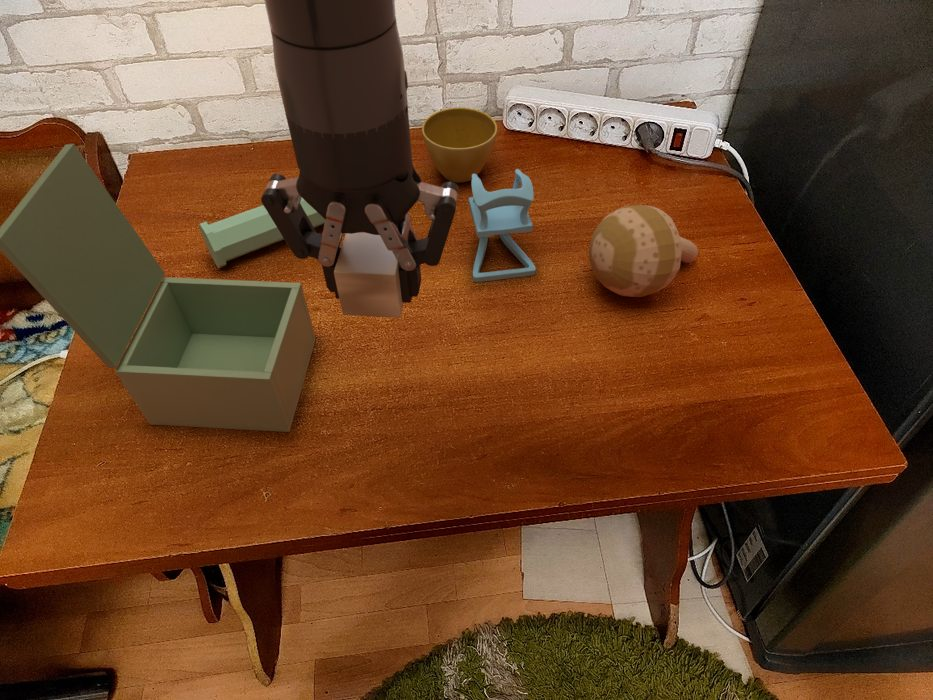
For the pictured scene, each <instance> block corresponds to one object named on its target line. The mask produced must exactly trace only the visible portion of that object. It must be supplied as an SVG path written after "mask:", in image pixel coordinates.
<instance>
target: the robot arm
mask: <svg viewBox="0 0 933 700" xmlns="http://www.w3.org/2000/svg"><path fill="white" fill-rule="evenodd" d="M263 1H264V6H265V11H266V15H267V19H268V24H269V28H270V35H271V39H272V40H271V41H272V50H273V51H272V52H273V61H274V69H275V74H276V79H277V83H278V87H279V88H278V89H279V92H280V96H281V100H282V105H283V110H284V113H285V117H286V122H287V126H288V131H289V135H290V139H291V143H292V144H291V145H292V149H293V152H294V157H295V162H296V165H297V168H298V170H299V173H298V174H299V175H298V176H296V177H291V178H286V176H284V175H282V174H280V173H273V174H272V175H271V176H270V178H269V180H268V183H267V184H266V187H265V189H264V191H263V193H262V196H261V198H260V201H261V205H264V207H265V209H266V210H267V212H268V213H269V215H270V217H271V218H272V220H273V222H274V223H275V225H276V226H277V228H278V230H279V231H280V233H281V235H282V236H283V238H284V241H285V243H286V245H287V246H288V248H289V249H290V250H291V252H292V254H293V256H294V257H295V258H297V259H300V260H306V259H308V258H309V257H310V258H313V259H315V260H316V261H317V262H318V263H319V264H320V265H321V269H322V272H323V276H324V281H325V286H326V288H327V289H328V291H329V292H330V293H334V295H335V299H337V300H340V299H339V295H338V290H337V285H336V281H335V276H334V270H335V266H336V263H337V260H338V257H339V253H340V250H341V246H340V245H341V241H342V238H343V234H346V233H348V234H353V233H369V234H373V235H380V237H381V238H382V240H383V242H384V244H385V246H386V247H387V249H388V250H389V251H392V252H393V254H394V255H395V257H396V259H397V261H398V263H399V265H400V266H399V279H400V288H401V296H402V302H403V304H405V303H406V304H411V303H412V299H413V298H416V297H417V298H418V296H419V294H420V288H421V283H422V273H421V265H423V264H425V265H427V266H429V267H430V266H431V267H435V266H438V265H439V263H440V262H441V258H442V256H443V252H444V249H445V247H446V243H447V240H448V237H449V233H450V230H451V228H452V223H453V220H454V218H455V215H456V210H457V204H458V199H459V198H458V196H459V192H460V191H459V190H460V189H459V186H458V184H457V183H456V182H452V181H445V182H443V183H442V185H441V186H438V185H435V184H431V183H427V182H423V181H422V178H421V175H419V173H418V172H417V170H416V168H415V166H414V163H413V153H412V142H411V140H412V139H411V131H410V119H409V106H408V105H409V103H408V93H407V91H408V89H409V82H408V75H407V71H406V69H405V68H406V67H405V59H404V52H403V46H402V42H401V38H400V33H399V29H398V22H397V15H396V3H395V2H396V1H395V0H263ZM301 197H302V198H303V199H304V200H305V201H306V202H307V203H308V204H309V205H310V206H311V207H312V208H313V209H315V210H316V211H317V212H318V213H319V214H320V215H321V216H322V217H323V218H324V219H325V224H323V229H322V234H321V233H317V230H316V229H315V228H314V227H313V225H312V223H311V222H310V220H309V218H308V216H307V215H306V213H305V211H304V209H303V208H302V206H301V204H300V201H301ZM417 202H420V203H422V205H423V206H424V213H425V215H426V216H427V217H428V220H430V221H431V222H430V226H429V230H428V233H427V237H424V238H418V236H417V234H416V231H415V230H414V228H413V226H412V219H411V216H410V213H409V211H410V210H411V209H412V208H413V207H414V205H415V204H416V203H417Z"/></svg>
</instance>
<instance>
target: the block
mask: <svg viewBox="0 0 933 700" xmlns="http://www.w3.org/2000/svg"><path fill="white" fill-rule="evenodd" d="M340 248H341V250H340V253H339V257H338V260H337V263H336V266H335V270H334V276H335V281H336V285H337V290H338V295H339V299H338V300H339V303H340V308H341V313H342V315H343V316H355V317H357V316H358V317H375V318H393V319H401V316H402V312H403V307H404V303H403V302H402V296H401V288H400V279H399V266H400V265H399V263H398V261H397V259H396V257H395V255H394V254H393V252H392V251H389V250H388V249H387V247H386V246H385V244H384V242H383V240H382V238H381V237H380V235H373V234H369V233H365V232H359V233H353V234H348V233H344V238H343V241H342V244H341V246H340Z"/></svg>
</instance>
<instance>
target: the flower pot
mask: <svg viewBox="0 0 933 700" xmlns="http://www.w3.org/2000/svg"><path fill="white" fill-rule="evenodd" d="M421 132H422V137H423V141H424V144H425V147H426V150H427V153H428V156H429V157H430V159H431V161H432V163H433V164H434V166H435V168H436V169H437V170H438V172H439V173H440V174H441V175H442V176H443V177H444V178H445V179H446V180H447V181H448V182H454V183H460V184H461V183H467V182H470V181H472V174H476V175H477V176H478V175H479V174H480V173H481V171H482V170H483V168H484V167H485V165H486V163H487V162H488V160H489V158H490V156H491V153H492V151H493V148H494V145H495V143H496V139H497V134H498V125H497V122H496V121H495V119H494V118H493V117H492V116H491V115H489V114H487V113H486V112H485V111H481V110H479V109H476V108H470V107H449V108H445V109H441V110H438V111H436V112H434V113H432V114H431V115H429V116H428V117H427V118H426V119H425V120H424V121H423V124H422V126H421Z"/></svg>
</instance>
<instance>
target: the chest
mask: <svg viewBox="0 0 933 700" xmlns="http://www.w3.org/2000/svg"><path fill="white" fill-rule="evenodd" d="M316 340H317V337H316V333H315V330H314V326H313V323H312V319H311V315H310V311H309V308H308V305H307V301H306V296H305V292H304V289H303V286H302V283H301V282H288V281H269V280H268V281H265V280H242V279H241V280H240V279H221V278H219V279H218V278H217V279H216V278H199V277H198V278H195V277H194V278H193V277H176V276H175V277H173V276H172V277H171V276H163V278H162V280H161V282H160V284H159V286H158V287H157V289H156V291H155V293H154V295H153V297H152V299H151V301H150V303H149V305H148V307H147V309H146V311H145V313H144V315H143V317H142V318H141V320H140V322H139V324H138V326H137V328H136V330H135V332H134V334H133V336H132V338H131V340H130V342H129V344H128V346H127V348H126V350H125V351H124V353H123V355H122V357H121V359H120V361H119V363H118V365H117V367H116V368H115V370H114V372H115V374H116V376H117V377H118V379H119V380H120V382H121V383H122V384H123V386H124V388H125V390H126V391H127V393H128V394H129V395H130V397H131V399H132V400H133V401H134V403H135V405H136V406H137V407H138V409H139V411H140V412H141V414H142V416H143V417H144V418H145V420H146V421H147V423H148V424H149V425H151V426H152V425H153V426H171V427H187V428H188V427H190V428H204V429H205V428H206V429H207V428H209V429H227V430H244V431H261V432H280V433H290V432H291V429H292V425H293V421H294V418H295V414H296V411H297V408H298V403H299V400H300V397H301V393H302V390H303V386H304V384H305V383H304V382H305V379H306V375H307V372H308V368H309V365H310V362H311V358H312V355H313V352H314V351H313V350H314V348H315V344H316V342H317V341H316Z"/></svg>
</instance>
